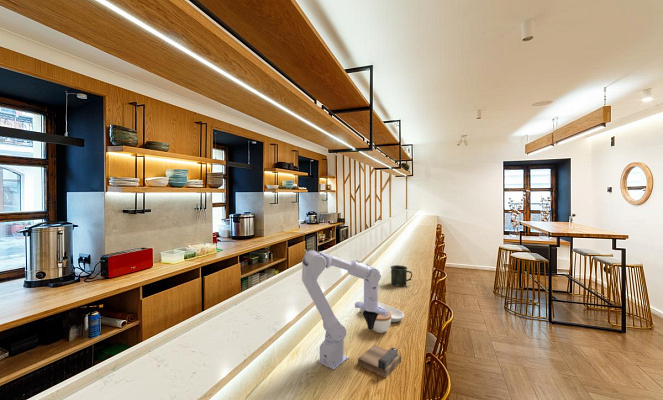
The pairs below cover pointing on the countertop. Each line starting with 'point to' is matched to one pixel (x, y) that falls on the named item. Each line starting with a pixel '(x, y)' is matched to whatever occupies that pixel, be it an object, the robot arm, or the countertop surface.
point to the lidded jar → (382, 323)
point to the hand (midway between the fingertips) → (370, 328)
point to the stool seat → (371, 361)
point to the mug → (399, 275)
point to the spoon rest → (395, 313)
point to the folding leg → (387, 358)
